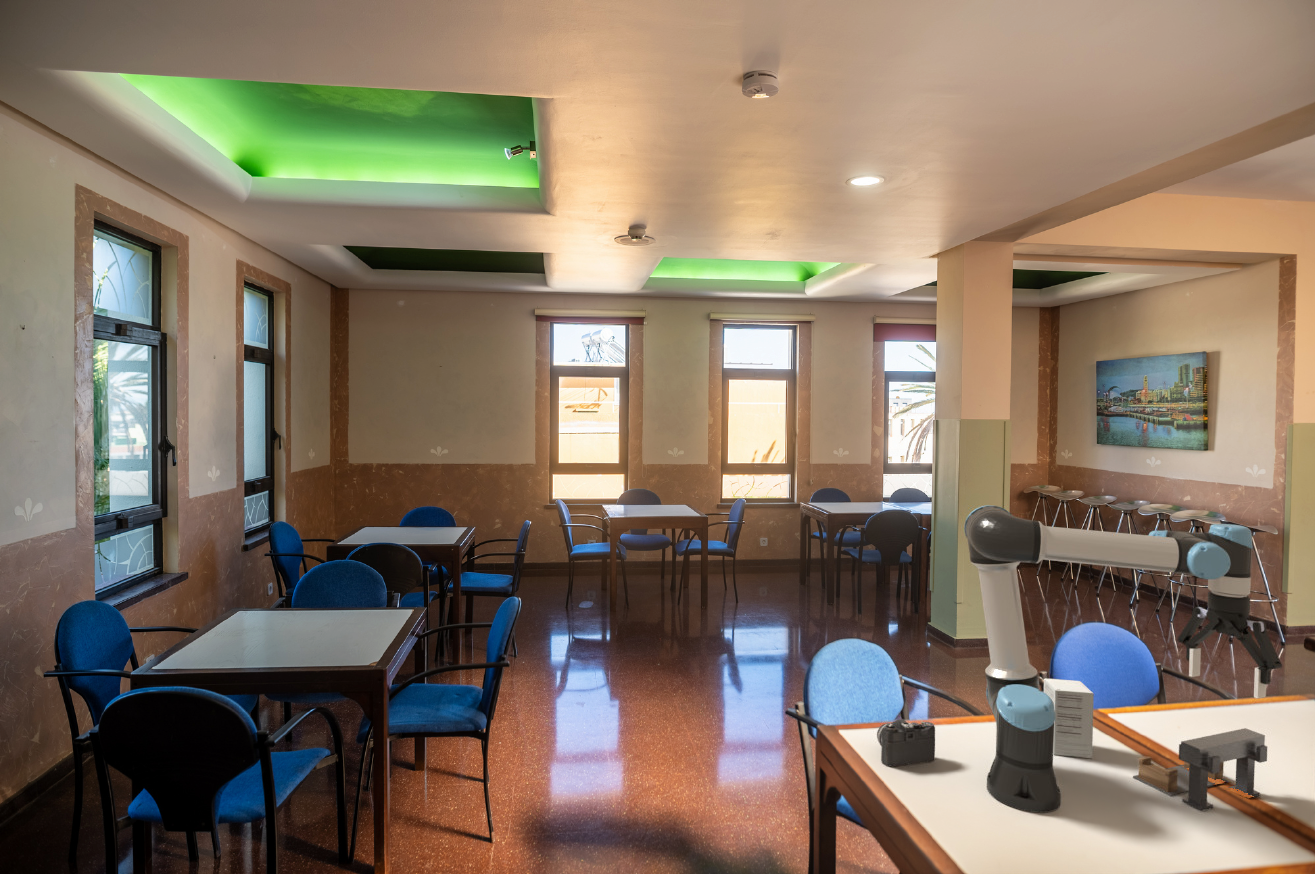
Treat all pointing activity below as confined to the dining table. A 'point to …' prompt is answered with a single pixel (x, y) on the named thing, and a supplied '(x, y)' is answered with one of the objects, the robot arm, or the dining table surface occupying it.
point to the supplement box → (1071, 717)
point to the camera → (906, 743)
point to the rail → (1221, 746)
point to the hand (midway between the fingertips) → (1225, 686)
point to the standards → (1200, 774)
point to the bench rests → (1169, 777)
